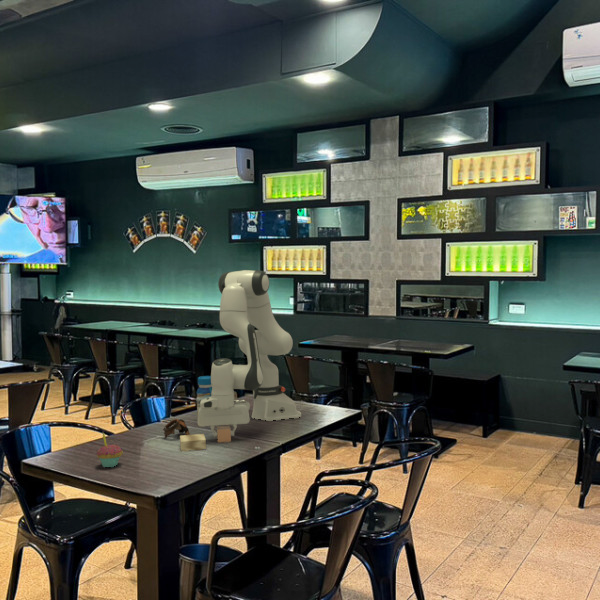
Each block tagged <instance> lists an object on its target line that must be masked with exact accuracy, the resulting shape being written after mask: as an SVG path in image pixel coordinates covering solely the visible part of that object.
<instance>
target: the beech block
mask: <svg viewBox="0 0 600 600" xmlns="http://www.w3.org/2000/svg"><path fill="white" fill-rule="evenodd" d="M206 441H207V438H206V437H205V434H204V433H197V434H190V435H183V434H182V435H179V446H181V447H180V451H184V452H190V451H189V450H195V451H203V450H202V449H206V450H207V443H206Z"/></svg>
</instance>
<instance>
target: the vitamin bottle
mask: <svg viewBox="0 0 600 600" xmlns="http://www.w3.org/2000/svg"><path fill="white" fill-rule="evenodd" d="M197 385H198V388H197V390H196V409H197V410H196V413H197V415H196V416H197V418H196V419H197V420H198V411H199V408H200V407H201V406H200V402H201V400H203V399H205V398H208V397H211V392H212V384H211V375H203V376H199V377H197Z"/></svg>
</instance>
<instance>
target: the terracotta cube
mask: <svg viewBox="0 0 600 600" xmlns="http://www.w3.org/2000/svg"><path fill="white" fill-rule="evenodd" d="M231 429H232V428H231V426H230V425H220V426H216V431H217V435H218V437H216V438H217V439H218V440H217V443H231V442H232V436H231V431H232V430H231Z"/></svg>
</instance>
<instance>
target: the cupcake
mask: <svg viewBox="0 0 600 600" xmlns="http://www.w3.org/2000/svg"><path fill="white" fill-rule="evenodd" d="M102 438H103V442H104V445H103V446H100V447H99V449H98V450H97V451H96V456H97V458H98V459H99V460H100V462H101V465H102V467H103V466H104V467H103V468H105V467H111V468H114V466H115V467H117V466H118V462H119V459H120V458H121V456H122V455H124V451H123V448H122V447H121V446H119V445H117V444H113V443H112V444H108V443H107V439H106V434H105V433H104V432H102ZM116 465H117V466H116Z"/></svg>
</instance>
